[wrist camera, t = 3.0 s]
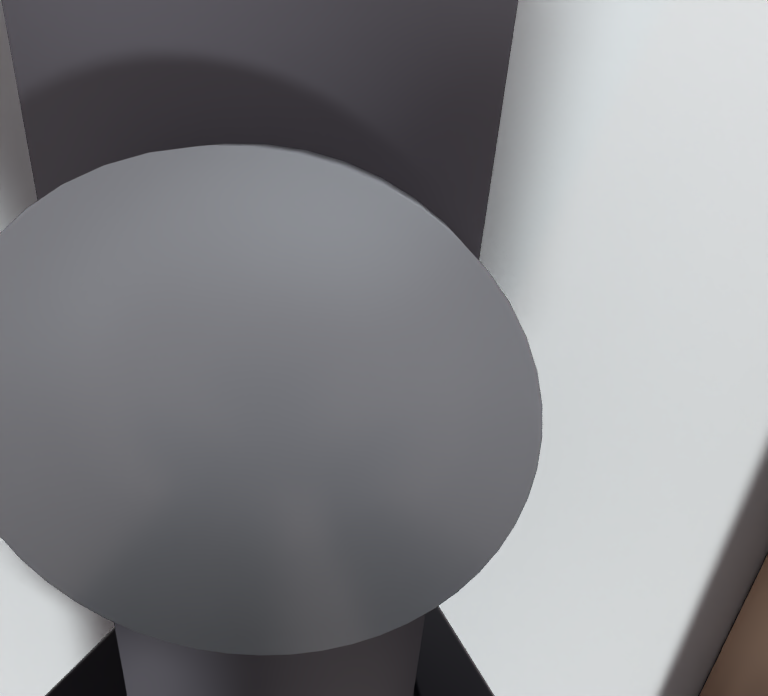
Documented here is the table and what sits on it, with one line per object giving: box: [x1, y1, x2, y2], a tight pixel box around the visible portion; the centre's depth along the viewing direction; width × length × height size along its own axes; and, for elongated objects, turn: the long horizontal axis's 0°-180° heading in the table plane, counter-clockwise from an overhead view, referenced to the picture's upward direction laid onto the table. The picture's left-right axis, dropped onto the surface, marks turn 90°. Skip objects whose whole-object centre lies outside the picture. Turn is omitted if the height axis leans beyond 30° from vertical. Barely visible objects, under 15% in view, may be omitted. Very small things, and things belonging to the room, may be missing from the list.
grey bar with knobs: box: [0, 0, 542, 696], centre depth 8 cm, size 18×4×5 cm, turn 176°
